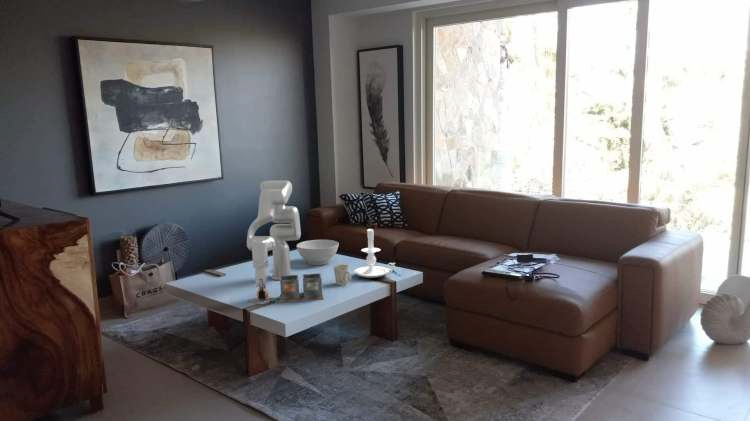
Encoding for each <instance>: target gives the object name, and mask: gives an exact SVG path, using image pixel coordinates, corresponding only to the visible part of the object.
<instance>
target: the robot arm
mask: <svg viewBox="0 0 750 421" xmlns="http://www.w3.org/2000/svg"><path fill="white" fill-rule="evenodd" d="M259 188H260V191H261V192H260V194H259V201H258V209H257V210H258V212H257V218H255V219H254V220H253V221H252V223H251V224H250V226H249V228H248V229H247V237H246V238H247V239H246V247H247V249H248V250H249V251H251V252H252V253H251V254H252V267H253V268H254V270H255V272H254V274H255V287H256V288H258V290H259V291H258V290H257V291H258V293H259V299H265V291H264V288H265V289H266V290H267V287H266V284H267V268H268V267H269V257H268V252H270V251H272V259H273V260H272V261H273V268H272V269H270V271H269V272H270V274H271V273H272V275H271V279H272V280H273V281H280V276H288V275H294V274H293V273H291V259H290V258H291V256H290V247H289V244H288V243H287V241H289V242H290V241H298V240H300V238H301V235H302V231H301V221H300V213H299V209H298V208H297V207H296V206H293V205H291V206H290V205H285V204H287V203H288V202H289V198H290V197H291V195H292V192H293V184H292V183H291V181H289V180H287V179H286V180H264V181H262V182H260V184H259ZM270 222H272V223H274V224H272V225H271V227H270V229H269V236H267V235H264V236H263V235H260V236H259V235H257V236H256V235H255V234H256V231H257V230H258V229H259V228H260V227H262V226H263V225H266V224H268V223H270ZM275 223H276V224H275Z"/></svg>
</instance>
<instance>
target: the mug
mask: <svg viewBox="0 0 750 421" xmlns="http://www.w3.org/2000/svg"><path fill="white" fill-rule="evenodd" d="M349 268H350V267H349V265H348V264H345V263H343V264H335V265H334V266H333V271H334V279H335V283H336V285H337V286H345V285H347V284H349V283H350V282H351V281H352V274H351V273H350V271H349ZM348 277H349V278H348Z"/></svg>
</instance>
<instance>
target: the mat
mask: <svg viewBox="0 0 750 421" xmlns="http://www.w3.org/2000/svg"><path fill="white" fill-rule="evenodd" d="M268 300H270V301H272V302H275V301H277V300H279V298H277V297H272V296H269V295H268V297H267V298H266V299H264V300H260V299H258V297H257V296H256V297H254V298H251V299H249V300H247V302H248V303H253V304H256V305H259V304H258V303H261V302H264V301H268Z"/></svg>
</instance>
